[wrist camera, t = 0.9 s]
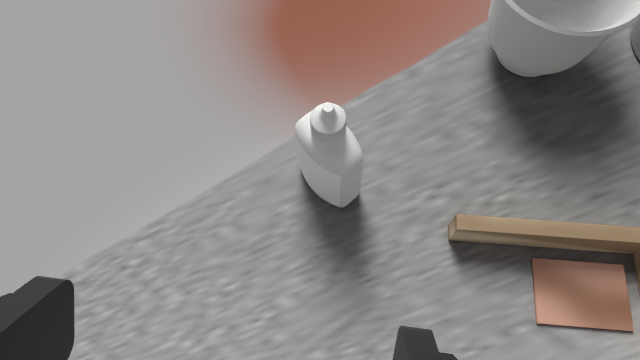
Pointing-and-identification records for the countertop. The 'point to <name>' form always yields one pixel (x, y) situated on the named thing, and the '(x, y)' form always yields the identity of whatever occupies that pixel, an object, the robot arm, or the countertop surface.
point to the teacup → (553, 31)
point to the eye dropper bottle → (329, 154)
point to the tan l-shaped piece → (565, 267)
